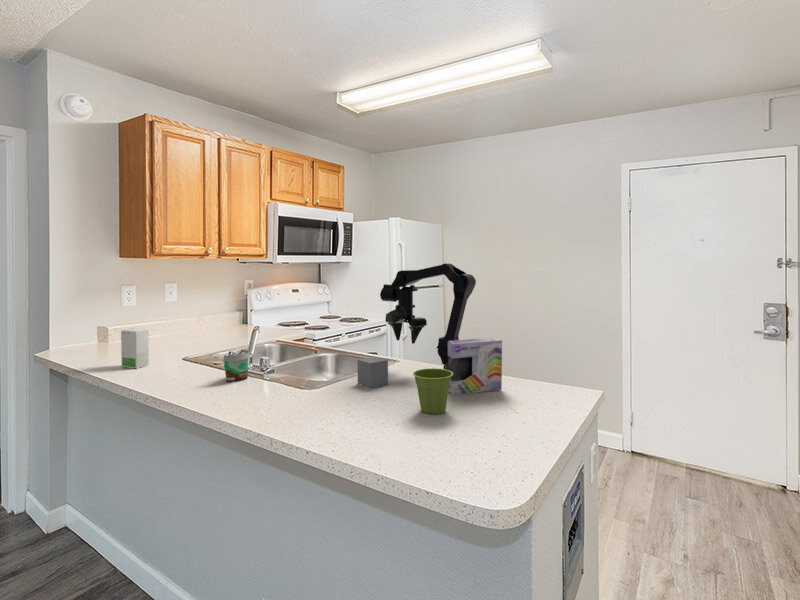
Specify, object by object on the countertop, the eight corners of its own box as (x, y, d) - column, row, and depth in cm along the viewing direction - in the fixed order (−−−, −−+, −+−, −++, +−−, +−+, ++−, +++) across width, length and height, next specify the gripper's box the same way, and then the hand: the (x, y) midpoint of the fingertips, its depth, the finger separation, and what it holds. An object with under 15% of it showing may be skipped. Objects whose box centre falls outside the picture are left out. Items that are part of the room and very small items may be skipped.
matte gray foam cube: (388, 384, 159) (387, 360, 158) (370, 388, 154) (370, 363, 153) (374, 380, 164) (374, 356, 164) (357, 383, 159) (357, 359, 159)
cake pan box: (449, 396, 145) (450, 342, 144) (444, 391, 150) (444, 339, 148) (502, 391, 150) (503, 339, 149) (495, 387, 155) (496, 337, 154)
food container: (239, 384, 159) (238, 356, 158) (223, 383, 160) (223, 355, 159) (257, 375, 171) (256, 349, 170) (242, 374, 172) (241, 349, 172)
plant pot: (428, 401, 139) (428, 366, 138) (460, 409, 132) (461, 372, 131) (404, 411, 130) (404, 373, 129) (437, 420, 123) (438, 380, 122)
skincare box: (121, 367, 184) (119, 330, 182) (135, 364, 190) (133, 327, 189) (137, 369, 181) (135, 331, 180) (150, 365, 188) (148, 328, 186)
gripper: (374, 301, 176) (374, 340, 178) (405, 305, 162) (405, 347, 163) (396, 300, 183) (396, 337, 185) (427, 303, 169) (427, 344, 171)
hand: (405, 341), depth 176 cm, fingers open, 9 cm apart
